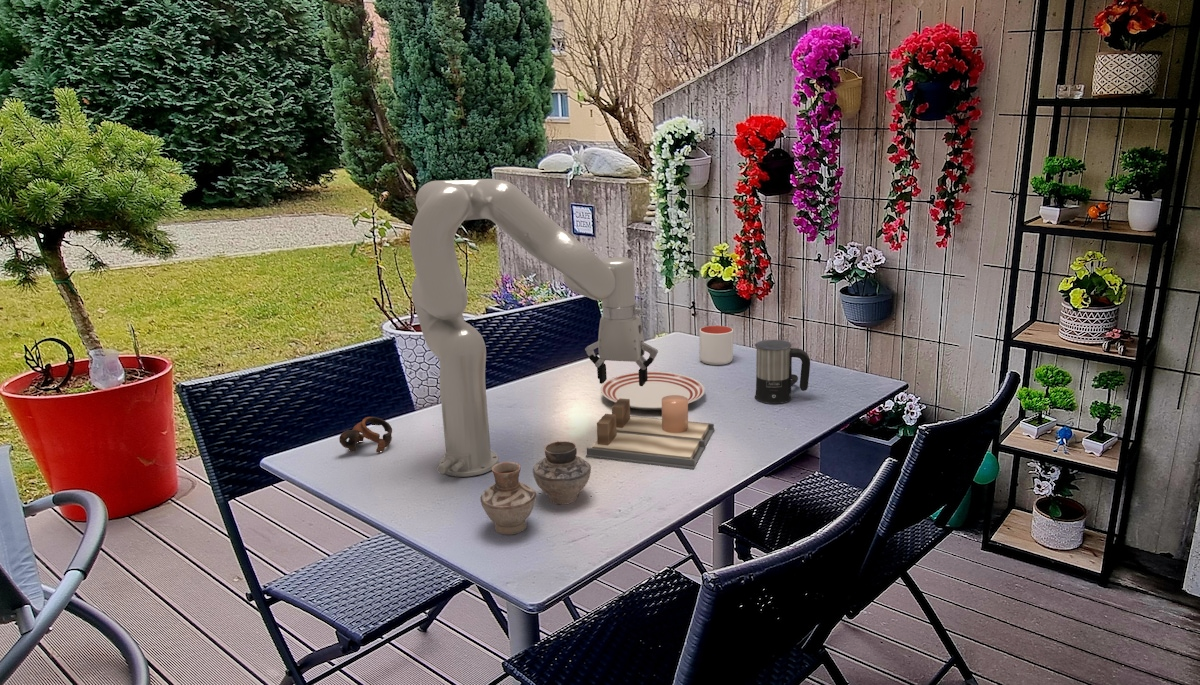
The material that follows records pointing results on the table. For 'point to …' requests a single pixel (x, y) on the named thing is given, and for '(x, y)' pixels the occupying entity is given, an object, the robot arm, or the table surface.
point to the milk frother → (778, 371)
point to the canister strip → (651, 424)
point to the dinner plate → (651, 389)
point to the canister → (674, 414)
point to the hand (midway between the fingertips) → (622, 383)
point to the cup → (716, 345)
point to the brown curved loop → (366, 434)
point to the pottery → (552, 474)
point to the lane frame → (653, 458)
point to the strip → (641, 441)
